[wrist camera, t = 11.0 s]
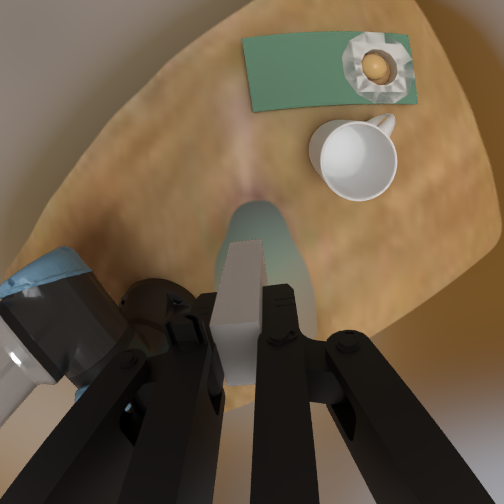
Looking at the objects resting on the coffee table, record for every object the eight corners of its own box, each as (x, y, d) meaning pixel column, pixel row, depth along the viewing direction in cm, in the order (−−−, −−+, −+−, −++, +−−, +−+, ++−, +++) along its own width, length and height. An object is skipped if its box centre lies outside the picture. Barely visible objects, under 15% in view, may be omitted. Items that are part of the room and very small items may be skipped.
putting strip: (253, 112, 39) (253, 112, 37) (243, 42, 35) (241, 38, 33) (410, 104, 37) (417, 104, 35) (401, 38, 33) (407, 34, 31)
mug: (396, 137, 39) (431, 145, 29) (337, 193, 43) (357, 217, 33) (355, 90, 37) (382, 84, 27) (294, 149, 41) (302, 160, 31)
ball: (356, 79, 35) (383, 82, 33) (354, 53, 33) (381, 55, 31) (365, 77, 37) (390, 79, 35) (363, 53, 35) (389, 54, 33)
